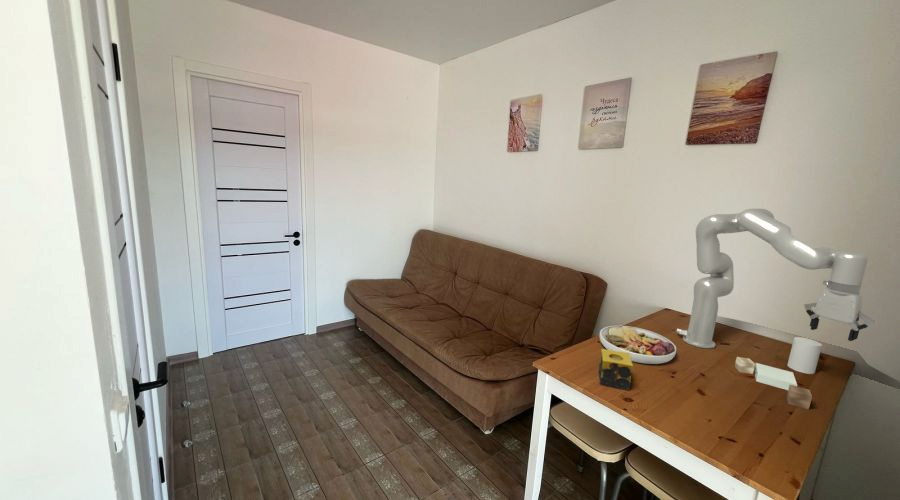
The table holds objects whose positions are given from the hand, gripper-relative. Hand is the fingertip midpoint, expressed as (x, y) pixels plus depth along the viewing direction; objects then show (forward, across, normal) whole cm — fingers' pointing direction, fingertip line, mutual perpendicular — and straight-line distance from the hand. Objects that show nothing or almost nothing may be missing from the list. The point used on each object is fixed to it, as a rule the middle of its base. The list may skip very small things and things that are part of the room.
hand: (831, 334), depth 126 cm
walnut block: (+23, 0, -15) cm, 27 cm away
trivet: (+22, -11, -6) cm, 25 cm away
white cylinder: (+23, -11, +17) cm, 30 cm away
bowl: (+22, -48, -35) cm, 64 cm away
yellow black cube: (+22, -33, -65) cm, 76 cm away
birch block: (+22, -20, -8) cm, 31 cm away
